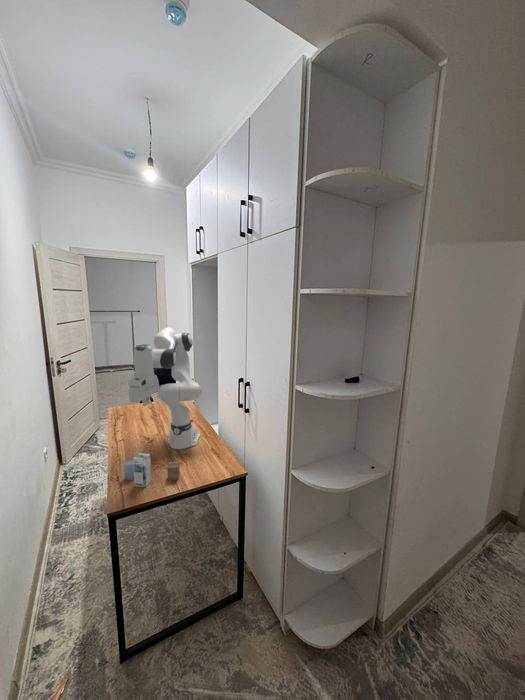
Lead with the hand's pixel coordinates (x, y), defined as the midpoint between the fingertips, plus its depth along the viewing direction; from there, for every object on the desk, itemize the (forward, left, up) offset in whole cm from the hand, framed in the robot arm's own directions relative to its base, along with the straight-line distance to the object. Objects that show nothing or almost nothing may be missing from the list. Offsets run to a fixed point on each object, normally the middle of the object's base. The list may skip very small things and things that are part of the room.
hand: (146, 405), depth 143 cm
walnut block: (+1, +14, -37) cm, 39 cm away
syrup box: (+9, +2, -37) cm, 38 cm away
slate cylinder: (+6, -7, -37) cm, 38 cm away
